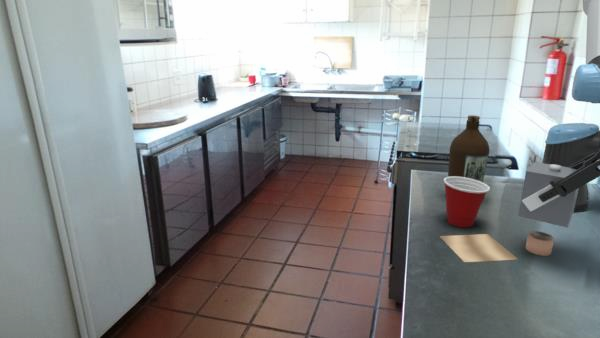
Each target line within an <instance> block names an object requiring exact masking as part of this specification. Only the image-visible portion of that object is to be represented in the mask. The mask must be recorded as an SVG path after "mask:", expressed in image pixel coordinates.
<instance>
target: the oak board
mask: <svg viewBox="0 0 600 338" xmlns="http://www.w3.org/2000/svg"><path fill="white" fill-rule="evenodd" d="M439 238H440V239H441V240H442V241H443V242H444V243H445V244H446V245H447V246H448V247H449V248H450V249H451V250H452V251H453V252H454V253H455V254H456V255H457V256H458V257H459V258H460V259H461V261H462V262H463V263H479V262H481V263H482V262H493V261H494V262H498V261H499V262H500V261H517V260H518V261H519V258H517V257H516V256H515V255H514V254H513V253H511V251H509V250H508V249H507V248H506V247H504V246H503V245H502V244H500V243H499V242H498V241H497V240H495V239H494V238H492V236H491V235H490V234H488V233H477V234H460V235H459V234H457V235H456V234H455V235H439Z"/></svg>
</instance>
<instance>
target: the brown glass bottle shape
mask: <svg viewBox="0 0 600 338" xmlns="http://www.w3.org/2000/svg"><path fill="white" fill-rule="evenodd" d="M480 118H481V117H480V116H479V115H474V114H473V115H468V116H467V120H466V124H465V129H463V131H462V132H460V133H459V134H458V135H456V136H455V137H454V138H453V139H452V141H451V142H450V147H449V154H448V155H449V157H448V168H447V169H448V171H447V177H450V176H458V177H466V178H471V179H474V180H477V181H480V182H483V183H484V180H485V179H484V178H485V173H486V169H487V164H488V160H489V156H490V144H489V142H488V140H487V139H486V138H485V137H484V135H483V134H482V133H481V131H480V129H479V128H480Z"/></svg>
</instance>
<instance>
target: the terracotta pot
mask: <svg viewBox="0 0 600 338" xmlns="http://www.w3.org/2000/svg"><path fill="white" fill-rule="evenodd" d="M554 241H555V238H554V236H553V235H551V234H548V233H546V232H543V231H538V230H534V231H529V232H528V233H527V238H526V243H525V250H526V251H527V252H528V253H531V254H534V255H538V256H547V257H548V256H550V255H552V251H553V248H554V247H553V246H554V243H555V242H554Z"/></svg>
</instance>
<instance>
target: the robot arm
mask: <svg viewBox="0 0 600 338" xmlns="http://www.w3.org/2000/svg"><path fill="white" fill-rule="evenodd" d="M582 11H583V12H584V14H585V15H586V16H587V17H586V18H587V19H586V43H585V44H586V45H585V64H581V65H578V66H577V68H576V70H575V73H574V76H573V82H572V88H571V98H572V99H573V100H574V101H577V102H585V103H591V104H596V105H597V104H600V0H582ZM543 151H544V152H543V158H542V161H541V163H544V164H555V165H560V166H563V167H569V168H572V169H576V171H574V172H573V173H571V174H569V175H568V176H566V177H565V178H563V179H561V180H560V181H558V182H557V183H554V182H553V181H551V182H549V183H550V184H551V185H549V186H547V187H545V188H543V189H542V190H540V191H538V192H536V193H534V194H532V195H531V196H529V197H527V198H525V199H523V200H522V202H523V203H524V204H525V205H526V207H527V208H528V209H529V210H530V212H531V211H533V210H535V209H537V208H538V207H540V206H542V205H544V204H546V203H548V202H550V201H552V200H554V199H556V198H558V197H560V196H562V197H565V196H567V194H569V193H571V192H573V191H574V190H576V189H578V188H579V190H578V194H577V199H576V203H575V208H574V212H575V213H576V212H577V213H578V212H584V211H586V210H587V209H589V205H590V201H591V200H590V197H589V189H588V188H589V187H588V183H590V182H592V181H594V180H596V179H597V178H600V127H599V125H598V124H595V123H583V122H572V123H571V122H570V123H560V124H555V125H553V126H552V127H550V128H549V130H548V133H547V136H546V139H545V146H544V150H543ZM562 186H563V187H564V188H565V189H564V188H563V187H562ZM574 212H573V213H574Z"/></svg>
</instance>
